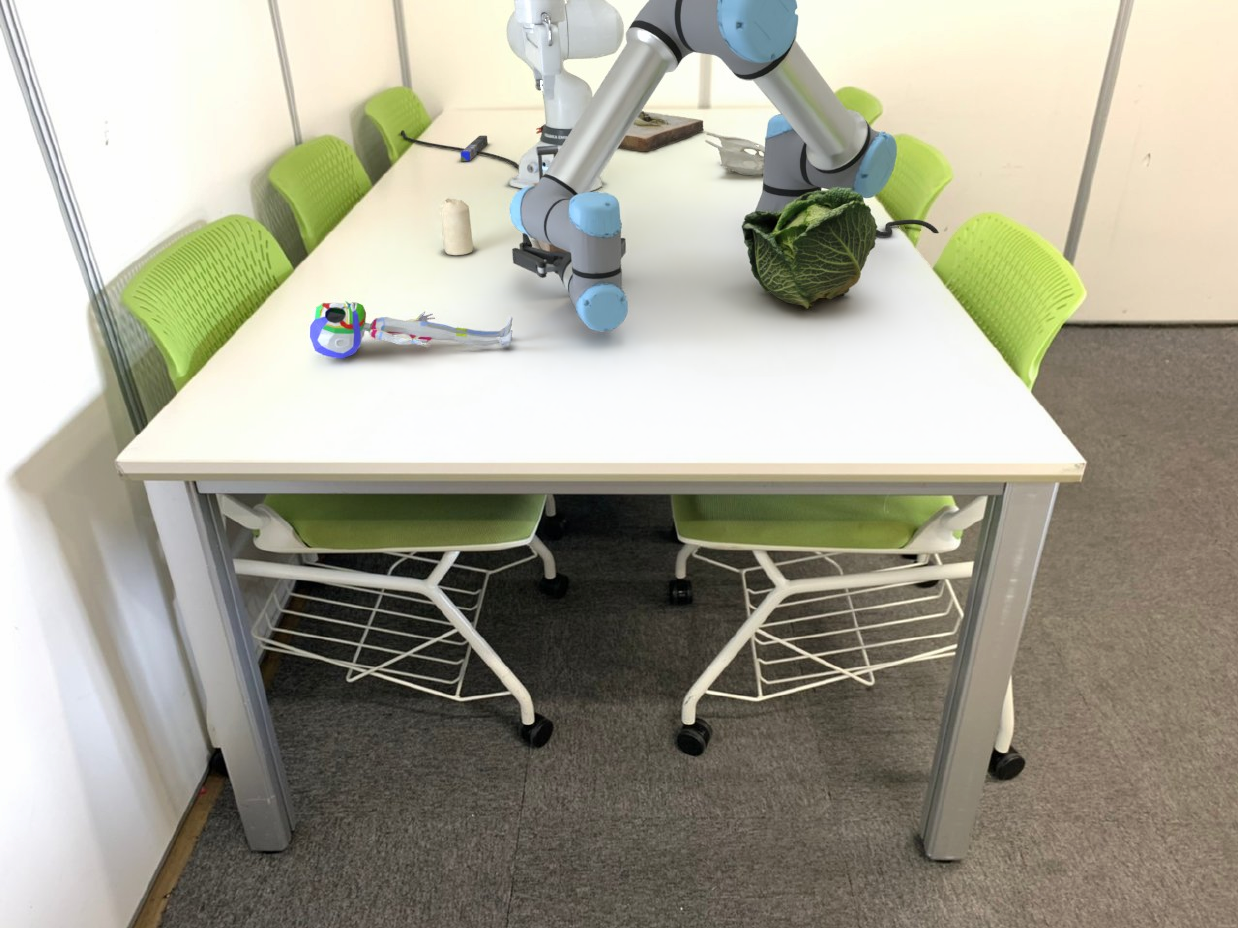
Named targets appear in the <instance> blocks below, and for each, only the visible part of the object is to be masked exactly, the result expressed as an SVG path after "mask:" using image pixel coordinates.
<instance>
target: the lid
mask: <svg viewBox="0 0 1238 928" xmlns="http://www.w3.org/2000/svg"><path fill="white" fill-rule="evenodd" d="M536 152H537V155H538V168H539V181H540V179H541V178H542V177H543V167H542V155H551V154H553V157H555V156H556V154H557V153H558V146H557V145H554V146H540V147H536ZM537 184H538V183H534V187H536V186H537Z"/></svg>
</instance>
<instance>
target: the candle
mask: <svg viewBox="0 0 1238 928" xmlns="http://www.w3.org/2000/svg"><path fill="white" fill-rule="evenodd" d="M470 213H471V212H470V206H469V205H468V204H467V203H466V202H464V201H463V200H462V199H456V198H446V200H444V202H443V203H442V204H441V206H440V207H439V214H440V215H439V216H440V223H441V230H442V231H441V232H442V238H443V239H442V240H443V247H444V252H445V254H447V255H451V256H463V255H467V254H470V253H472V252H473V250H474V244H473V243H474V242H473V233H472V225H471V224H472V223H471V215H470Z"/></svg>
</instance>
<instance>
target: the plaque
mask: <svg viewBox="0 0 1238 928" xmlns="http://www.w3.org/2000/svg"><path fill="white" fill-rule="evenodd" d="M704 130H705V129H704V120H702V119H698V118H693V117H685V116H679V115H669V114H663V113H659V112H650V111H644V110H642V111H641V112H640V114H639V115H638V117H637V119H636V120H635V122H634V123H633V125H632V126H631V128H630V130H629V131H628V133H627V134H626V136H625V137H624V139H623V140H622V142H621V144H620V145H619V147H618V148H620V149H625V150H632V151H640V152H648V151H654V150H656V149H659V148H662V147H663V146H664V147H665V146H667V145H670V144H672V143H676V142H680V141H682V140H684V139H687V138H691V137H692V136H694V135H696V134H698V133H700V132H704Z"/></svg>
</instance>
